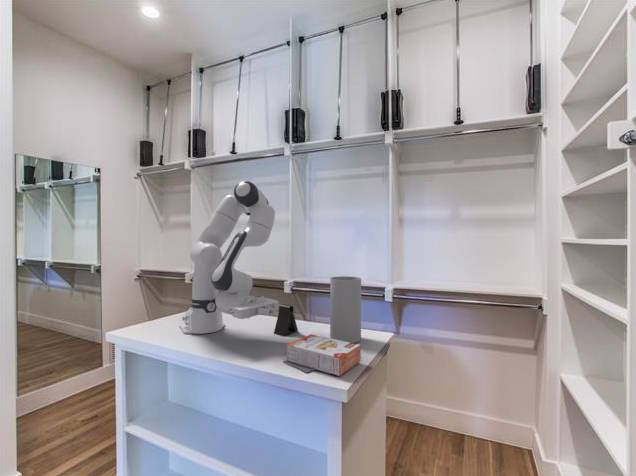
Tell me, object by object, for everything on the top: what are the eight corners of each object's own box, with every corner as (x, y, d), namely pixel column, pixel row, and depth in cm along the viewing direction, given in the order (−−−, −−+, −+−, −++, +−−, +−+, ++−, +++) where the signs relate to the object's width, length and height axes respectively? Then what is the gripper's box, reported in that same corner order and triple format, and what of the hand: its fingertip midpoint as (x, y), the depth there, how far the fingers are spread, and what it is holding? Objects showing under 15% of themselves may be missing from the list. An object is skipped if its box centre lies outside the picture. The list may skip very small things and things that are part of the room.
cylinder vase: (349, 347, 123) (349, 281, 123) (323, 340, 131) (324, 278, 131) (366, 339, 132) (367, 278, 132) (342, 333, 140) (342, 275, 140)
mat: (283, 362, 108) (283, 361, 108) (318, 350, 119) (318, 349, 119) (306, 373, 99) (306, 372, 99) (342, 360, 110) (342, 358, 110)
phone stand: (283, 336, 136) (284, 307, 136) (273, 333, 139) (273, 306, 139) (298, 331, 143) (298, 304, 143) (288, 329, 146) (288, 302, 146)
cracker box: (310, 332, 119) (361, 344, 107) (310, 349, 119) (361, 362, 107) (285, 343, 107) (340, 357, 96) (285, 361, 107) (340, 377, 96)
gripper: (224, 302, 121) (249, 307, 113) (264, 295, 137) (288, 299, 129) (224, 319, 121) (249, 325, 113) (264, 310, 137) (288, 315, 129)
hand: (270, 311), depth 121 cm, fingers closed
